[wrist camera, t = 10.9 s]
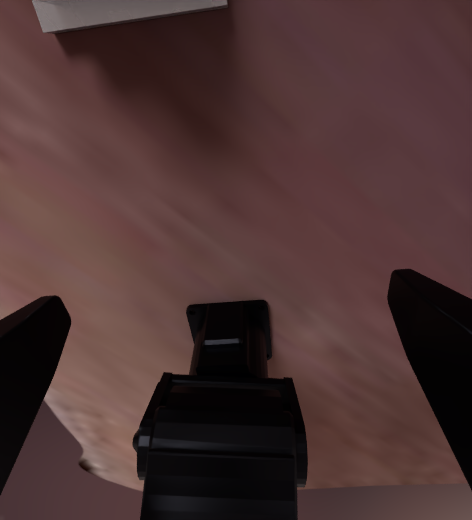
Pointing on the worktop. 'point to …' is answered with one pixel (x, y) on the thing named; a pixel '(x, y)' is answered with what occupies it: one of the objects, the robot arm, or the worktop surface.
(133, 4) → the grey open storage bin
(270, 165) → the worktop surface
